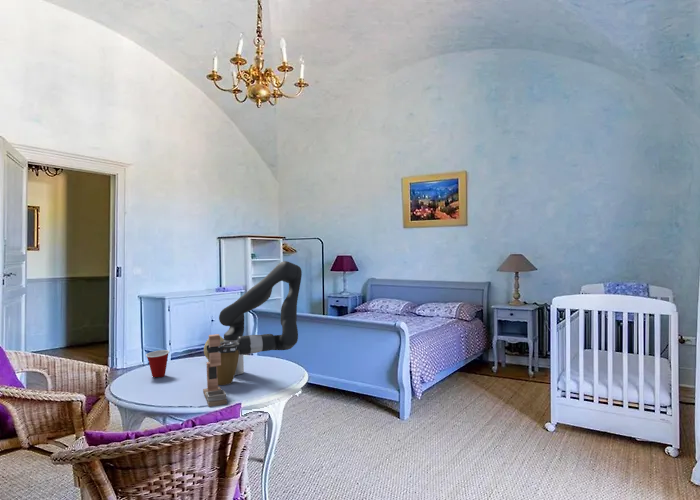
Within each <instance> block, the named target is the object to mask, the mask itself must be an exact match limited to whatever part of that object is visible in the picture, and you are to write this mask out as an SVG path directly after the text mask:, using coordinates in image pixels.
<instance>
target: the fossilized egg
mask: <svg viewBox="0 0 700 500" xmlns="http://www.w3.org/2000/svg"><path fill="white" fill-rule="evenodd" d="M220 342H224V337H222V336H221V335H220ZM207 345H209V338H207V340H206V342H205V344H204V347H203V354H204V356H205V358H206V359H207V360H208V356H207ZM220 346H222V345H220Z"/></svg>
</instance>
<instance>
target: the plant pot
mask: <svg viewBox="0 0 700 500" xmlns="http://www.w3.org/2000/svg"><path fill="white" fill-rule="evenodd" d="M207 356H208V359H207V362H210V360H209V353H208V351H207ZM238 358H239V353H238V350H236V352H235V353H221V365H218V366H217V373H218V386H225V385H227V386H228V385H231V384H232V383H233V381H234V378H235V376H236V375H235V372H236V368H237V363H238Z"/></svg>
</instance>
